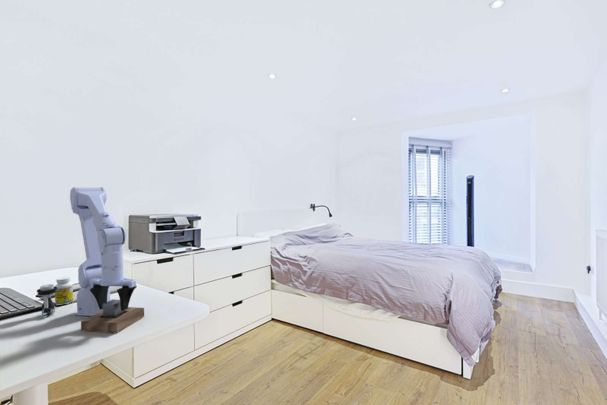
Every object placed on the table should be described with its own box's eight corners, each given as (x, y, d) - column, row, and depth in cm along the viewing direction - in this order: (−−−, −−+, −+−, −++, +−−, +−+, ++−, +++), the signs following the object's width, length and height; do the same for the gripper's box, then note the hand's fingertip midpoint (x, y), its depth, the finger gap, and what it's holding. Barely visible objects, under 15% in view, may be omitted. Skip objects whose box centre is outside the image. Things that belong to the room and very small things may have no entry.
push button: (53, 317, 103) (52, 288, 102) (33, 320, 101) (32, 290, 100) (60, 310, 109) (59, 282, 108) (41, 313, 107) (40, 284, 106)
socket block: (81, 330, 92) (80, 321, 92) (112, 315, 104) (111, 306, 104) (117, 333, 91) (116, 323, 90) (144, 316, 102) (143, 307, 102)
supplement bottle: (76, 300, 120) (75, 275, 119) (68, 305, 114) (67, 279, 114) (60, 301, 118) (59, 276, 118) (52, 306, 113) (51, 280, 113)
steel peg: (103, 326, 96) (102, 303, 95) (113, 320, 100) (112, 299, 99) (115, 326, 95) (114, 304, 95) (124, 321, 99) (123, 299, 99)
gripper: (81, 268, 94) (82, 312, 94) (123, 269, 92) (125, 314, 92) (99, 263, 101) (101, 304, 101) (139, 264, 99) (141, 306, 99)
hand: (113, 308), depth 97 cm, fingers open, 7 cm apart
